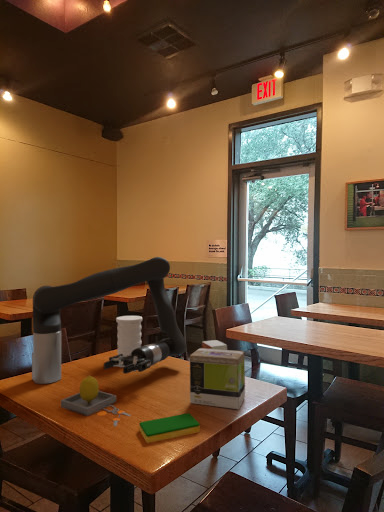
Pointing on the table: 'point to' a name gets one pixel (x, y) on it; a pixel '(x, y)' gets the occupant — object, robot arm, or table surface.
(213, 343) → the small box
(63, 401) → the tray
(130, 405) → the table surface
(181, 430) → the dish sponge
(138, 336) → the decorative container
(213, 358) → the tea box
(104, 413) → the key chain
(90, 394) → the lemon
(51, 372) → the robot arm
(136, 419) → the table surface
